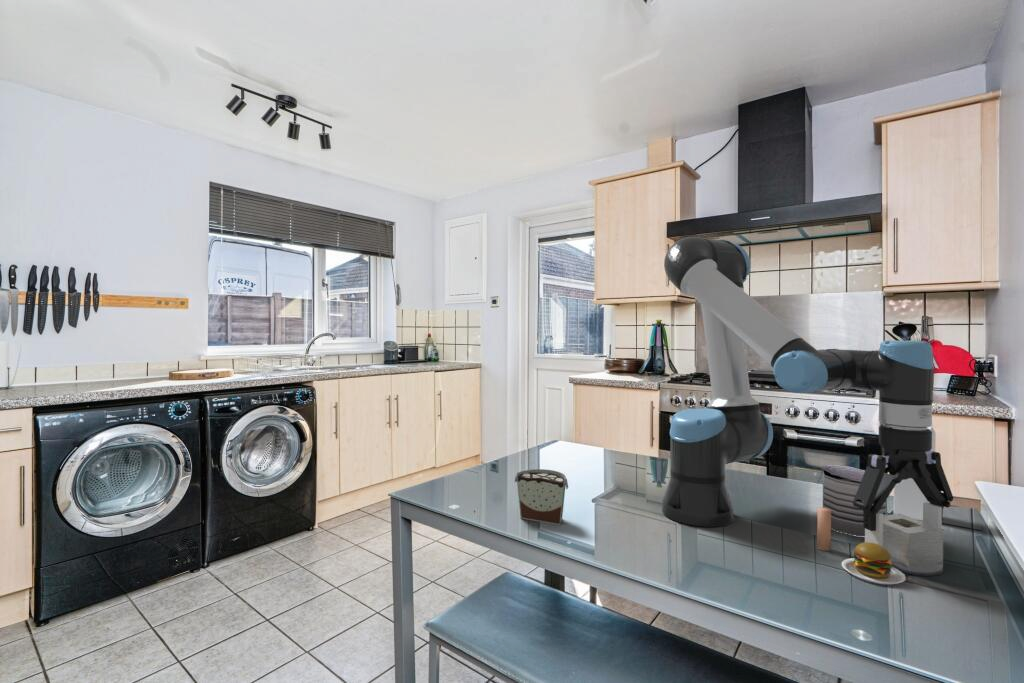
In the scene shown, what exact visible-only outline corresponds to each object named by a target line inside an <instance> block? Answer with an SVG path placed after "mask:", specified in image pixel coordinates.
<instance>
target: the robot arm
mask: <svg viewBox="0 0 1024 683" xmlns="http://www.w3.org/2000/svg"><path fill="white" fill-rule="evenodd" d="M663 261H664V263H663V266H664V271H665V275H666V277H667V278H668V279H669V281H670V283H672V284H673V286H675V287H676V288H677V289H678V290H679V291H680V292H681V293H682V294H683V295H684V296H688V297H693V298H694V299H695V300H697V301H698V302H699V303H700V306H701V313H702V314H701V315H702V322H703V323H702V324H703V331H704V338H705V340H704V341H705V346H706V347H705V348H706V356H707V362H708V371H709V373H708V374H709V379H710V380H709V381H710V388H711V395H712V399H711V400H710V401H709V402H708V403H707V405H706V408H705V407H702V408H700V407H699V408H687V409H683V410H680V411H677V412H675V414H673V415H672V417H671V420H670V429H669V436H670V437H669V447H670V448H669V450H670V451H669V454H670V455H669V458H670V459H669V461H670V462H669V465H670V467H669V468H670V471H669V472H670V473H669V474H670V476H669V477H670V478H669V481H668V484H667V487H666V490H665V492H664V495H663V498H662V502H661V504H662V505H661V507H662V509H661V510H662V511H661V512H662V514H663V515H664V516H665V517H667V518H668V519H670V520H673V521H675V522H678V523H681V524H685V525H689V526H695V527H703V528H704V527H708V528H709V527H710V528H711V527H713V528H714V527H723V526H726V525H729V524H732V522H733V521H734V507H733V504H732V501H731V498H730V495H729V492H728V488H727V485H726V465H729V464H733V463H737V462H743V461H744V462H746V461H751V460H753V459H756V458H759V457H761V456H762V455H765V453H766V452H767V451H768V450H769V449H770V447H771V446H772V444H773V438H774V431H773V430H774V429H773V426H772V423H771V421H770V419H769V418H768V417H766V415H765V413H763V412H761V408H760V402H759V401H758V400H757V399H755V398H754V396H753V397H752V395H751V386H750V379H749V373H748V372H749V371H748V364H747V358H746V357H747V356H746V347H745V344H746V345H747V346H748V347H749V348H751V350H753V351H754V352H755V353H756V354H757V355H759V357H761V358H762V359H763V360H764V361H765V362H766V363H767V364H768V365H769V366H771V367H772V368H773V370H772V372H773V373H772V374H773V376H774V379H775V382H776V383H777V384H778V386H779V387H781V388H782V389H783V390H784V391H787V392H790V393H795V394H797V393H798V394H812V393H815V392H823V391H835V390H842V389H854V390H867V391H874V392H875V391H876V392H877V391H878V394H879V395H878V396H879V399H878V400H879V401H878V421H879V422H880V423H881V424H880V425H879V426H878V444H879V445H880V447H882V448H883V453H882V454H881V455H877V454H874V453H869V454H868V455H867V464H866V468H865V469H864V470H865V473H864V475H863V478H862V480H861V483H860V486H859V488H858V491H857V493H856V496H855V498H854V501H853V505H854V506H855V507H858V508H861V509H863V526H864V528H865V537H864V542H871V543H875V544H878V545H880V546H882V547H883V514H882V513H879V510H880V509H881V507H882V506H883V504H884V503H885V501H886V502H887V499H888V498H889V496H890V495H891V493H892V492H893V491H894V487H895V485H896V484H897V483H900V482H901V481H902V480H906V479H908V478H912V479H913V480H914V481H915V483H916V484H917V486H918V487H919V489H920V490H921V492H922V493H923V495H924V496H925V498H926V499H927V501H928V502H930V503H927V502H923V521H922V522H925V523H927V524H930V525H933V526H936V527H939V528H941V529H943V527H942V524H943V523H942V522H943V520H944V518H943V515H944V514H943V513H944V512H943V511H944V510H943V509H944V507H945V508H946V509H947V508H950V507H951V502H953V500H954V496H953V493H952V490H951V487H950V484H949V481H948V479H947V476H946V474H945V472H944V469H943V466H942V457H941V453H940V452H939V451H938V452H937V451H935V452H934V451H930V450H931V449H932V431H931V430H930V429H927V427H930V426H932V427H933V411H932V410H933V406H932V405H933V389H934V388H933V387H934V370H935V365H934V356H933V354H934V353H933V346H932V345H931V343H929V342H928V341H926V340H883V341H881V342H880V344H879V348H878V350H877V349H876V350H860V349H859V350H858V349H838V348H826V349H816V348H815V347H814V346H813V345H811V344H810V343H809V342H807V341H806V340H805V339H804V338H803V337H801V335H798V333H797V332H795V331H794V330H792V329H791V328H790V327H789V326H788V325H786V324H785V323H784V322H782V320H780V319H779V318H778V317H776V316H775V315H774V314H773V313H771V312H770V310H768V309H767V308H766V307H764V306H763V305H761V304H760V303H759V302H758V301H757V300H755V298H753V297H752V296H750V295H749V294H748V293H747V292H745V287H744V282H746V280H747V279H748V278H747V277H748V275H750V272H751V259H750V257H749V254H748V252H747V251H746V249H745V248H743V247H742V246H741V245H739V244H738V243H735V242H732V241H729V240H725V239H713V238H706V237H705V238H704V237H701V236H700V237H699V236H686V237H683V238H680V239H679V240H677V241H675V242H674V243H673V244H672V245H671V246H670V247H669V249H668V250H667V251H666V254H665V257H664V260H663ZM862 501H863V502H862ZM873 503H874V505H872V504H873Z"/></svg>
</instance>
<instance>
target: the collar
mask: <svg viewBox="0 0 1024 683" xmlns="http://www.w3.org/2000/svg"><path fill="white" fill-rule="evenodd" d="M903 526H904V527H903ZM906 527H908V528H906ZM883 547H884V548H885V549H886V550H887V551H888V552H889V554H890V560H892V561H894V562H896V563H898V564H901V565H903V566H905V567H907V568H913V567H920V566H927V565H934V564H942V563H943V564H944V529H943V528H942V529H941V528H939V527H936V526H933V525H930V524H927V523H925V522H923V521H921V520H917V519H914V518H911V517H908V516H905V515H903V514H894V513H893V514H886V515H884V516H883Z"/></svg>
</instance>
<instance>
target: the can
mask: <svg viewBox="0 0 1024 683" xmlns="http://www.w3.org/2000/svg"><path fill="white" fill-rule="evenodd" d="M820 469H822V508H827V509H830V510H831V530H832V529H833V530H832V531H834V530H835V531H834V532H836V531H838V532H837V533H839V532H842V533H841V534H843V533H847V534H851V535H856V536H865V528H864V526H863V509H861V508H858V507H855V506H854V505H853V501H854V498H855V496H856V493H857V491H858V488H859V486H860V483H861V480H862V478H863V475H864V473H865V470H866V469H861V468H856V467H852V466H848V465H847V466H844V465H834V464H826V465H824V466H821V467H820ZM862 502H863V501H862ZM872 505H874V503H873V504H872ZM879 513H882V514H883V516H884V515H887V500H886V501H885V503H884V504H883V506H882V507H881V509H880V510H879ZM847 534H846V535H847ZM851 535H850V536H851Z"/></svg>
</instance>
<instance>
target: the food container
mask: <svg viewBox="0 0 1024 683" xmlns="http://www.w3.org/2000/svg"><path fill="white" fill-rule="evenodd" d="M514 477H515V478H514V483H517V493H518V504H519V505H518V506H519V517H520V519H524V520H528V521H534V522H540V523H545V524H552V525H557V526H561V525H562V524H563V513H564V506H565V504H564V503H565V494H566V490H568V489H569V483H568V482H569V481H568V479H567V476H566V475H565V473H562V472H560V471H556V470H551V469H544V468H543V469H542V468H541V469H540V468H539V469H537V468H536V469H526V470H520V471H518V472H516V475H515V476H514Z"/></svg>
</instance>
